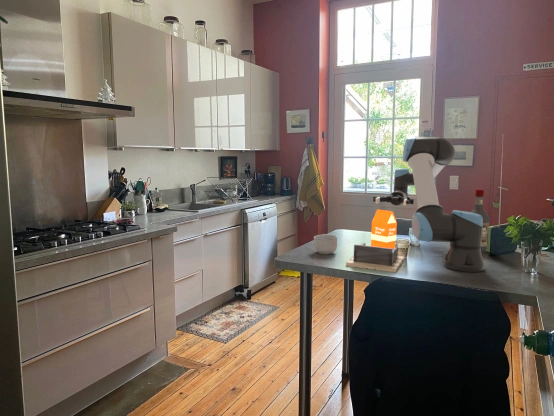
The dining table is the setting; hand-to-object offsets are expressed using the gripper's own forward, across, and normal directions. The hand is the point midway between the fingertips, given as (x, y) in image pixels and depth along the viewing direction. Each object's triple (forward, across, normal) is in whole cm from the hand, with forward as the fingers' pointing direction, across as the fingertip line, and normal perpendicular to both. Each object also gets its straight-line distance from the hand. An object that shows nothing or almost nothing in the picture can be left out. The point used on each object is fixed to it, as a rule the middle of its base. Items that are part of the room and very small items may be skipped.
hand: (390, 201), depth 202 cm
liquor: (-14, -40, -23) cm, 48 cm away
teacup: (+27, +24, -23) cm, 43 cm away
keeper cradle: (+34, -2, -23) cm, 41 cm away
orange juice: (+13, 0, -23) cm, 26 cm away
